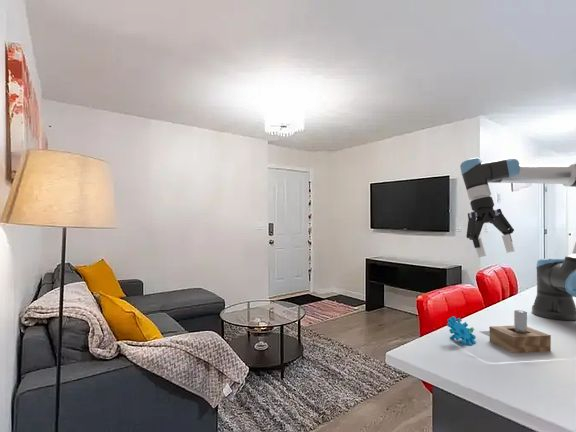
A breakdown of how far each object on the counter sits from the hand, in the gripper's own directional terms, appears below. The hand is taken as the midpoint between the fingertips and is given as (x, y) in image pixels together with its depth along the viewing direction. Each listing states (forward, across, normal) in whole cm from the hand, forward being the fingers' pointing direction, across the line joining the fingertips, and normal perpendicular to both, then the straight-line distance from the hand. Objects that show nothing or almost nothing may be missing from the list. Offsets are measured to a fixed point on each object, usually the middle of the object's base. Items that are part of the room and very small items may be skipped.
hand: (496, 254), depth 127 cm
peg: (+29, +13, +11) cm, 34 cm away
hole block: (+29, +13, +11) cm, 33 cm away
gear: (+26, +27, +2) cm, 37 cm away
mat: (+27, +10, +1) cm, 28 cm away
